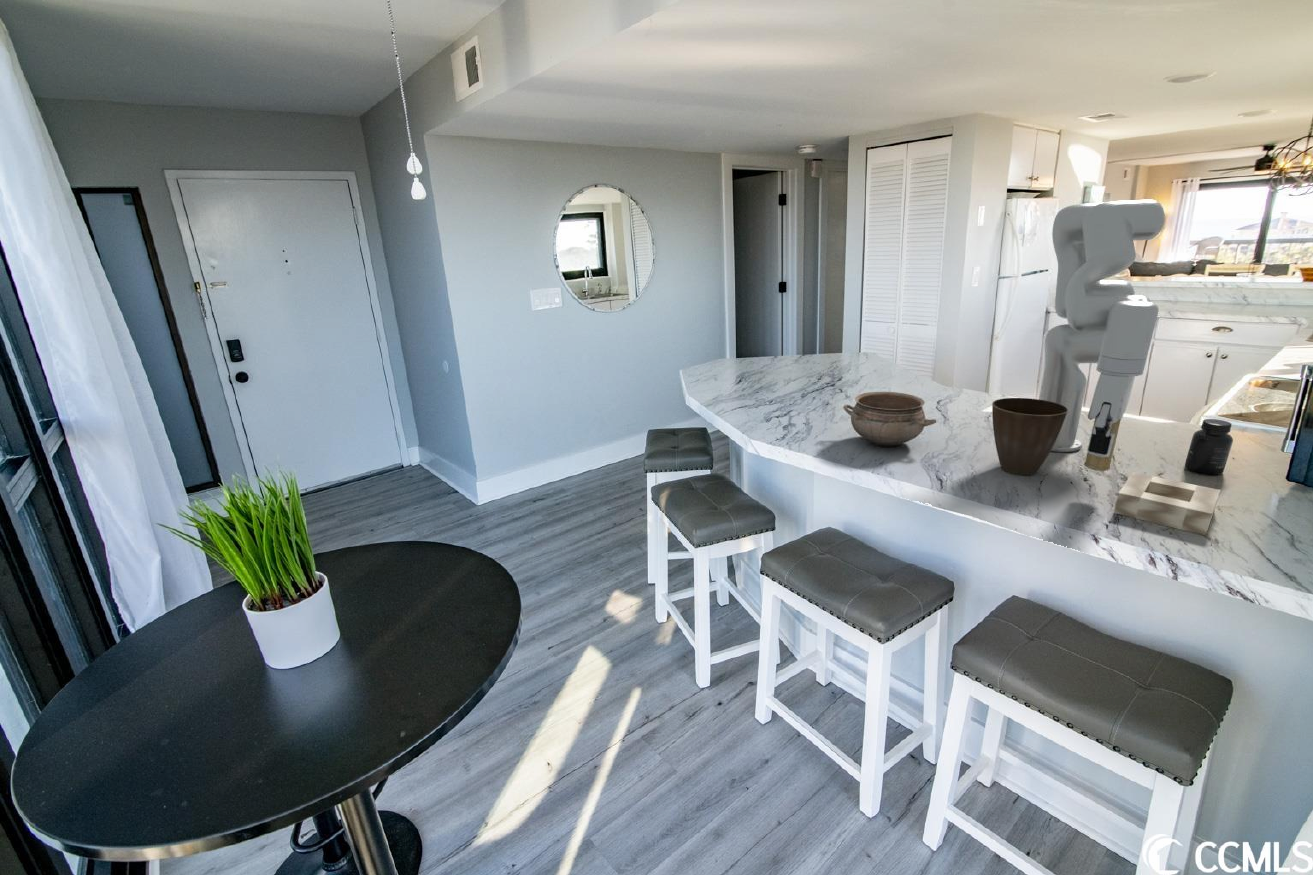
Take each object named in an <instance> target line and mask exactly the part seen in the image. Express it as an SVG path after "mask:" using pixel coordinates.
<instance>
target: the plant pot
mask: <svg viewBox="0 0 1313 875" xmlns="http://www.w3.org/2000/svg"><path fill="white" fill-rule="evenodd" d="M991 408H992V412H991V413H992V416H991V417H992V427H993V429H992V430H993V437H994V443H995V448H996V453H997V456H998V458H997V459H998V461H999V464H1000V468H1001V470H1003V471H1004V472H1006V473H1008V474H1012V475H1015V476H1033V475H1036V474H1037V473H1038V472H1039V470H1040V469H1041V467H1042V466H1043V464H1044V463H1045V461H1046V460H1047V458H1048V456H1049V454H1050V453H1051V452H1052V451H1051V449H1052V447H1053V445H1054V443H1055V441H1056V439H1057V437H1058V435H1059V433H1060V430H1061V428H1062V425H1063V423H1064V420H1065V417H1066V414H1067V412H1068V409H1067V408H1066V407H1065V406H1063V405H1060V404H1058V403H1054V402H1050V401H1045V400H1039V398H1038V399H1037V398H1028V397H1027V398H1026V397H1006V398H999V399H996V400H993V402H992V405H991Z"/></svg>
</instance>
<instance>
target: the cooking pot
mask: <svg viewBox="0 0 1313 875" xmlns="http://www.w3.org/2000/svg"><path fill="white" fill-rule="evenodd" d="M854 400H855V404H854V406H852V405H849V404H844V406H843V410H844V411H845V413H847V414H848V415H849V416H850V423H851V426H852V428H853V430H854V431H855V432H856V433H857V434H858V435H859V436H860V437H862V438H863V439H865V440H866V441H868V442H871V443H872V444H873V445H875V446H878V447H884V448H892V447H897V446H898V445H902V444H904V443H907V442H910V441H911V440H914V439H916V438H917V437H918V436H919V435H920V434H922V432H923V431H924V428H925V427H929V426H931V425H934V424H936V423H937V422H938V420H937V419H936V418H932V419H928V418H926V415H925V411H924V408H923V406H924V405H925V402H926V401H924V399H923V398H921V397H919V396H917V395H913V394H909V393H904V392H897V391H895V392H894V391H871V392H864V393H861V394H858V395H856V396H855V398H854Z"/></svg>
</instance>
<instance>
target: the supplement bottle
mask: <svg viewBox="0 0 1313 875" xmlns="http://www.w3.org/2000/svg"><path fill="white" fill-rule="evenodd" d="M1231 428H1232V423H1231V422H1229V421H1227V420H1223V419H1216V418H1205V419H1203V420H1202V423H1201V426H1200V429H1199V430H1197V431H1195V432H1193V434H1192V437H1191V442H1190V444H1189V448H1188V452H1187V455H1186V459H1185V462H1184V468H1185V469H1186V470H1187V471H1189V472H1191V473H1194V474H1196V475H1201V476H1202V475H1203V476H1207V477H1208V476H1209V477H1217V476H1221V475H1222V474H1223V473H1224V471H1225V468H1226V466H1227V465H1226V464H1227V461H1228V460H1229V455H1230V452H1231V449H1232V445H1233V443H1234V438H1233V437H1232V435H1230V434H1229V433H1230V432H1231Z"/></svg>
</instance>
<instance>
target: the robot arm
mask: <svg viewBox="0 0 1313 875" xmlns="http://www.w3.org/2000/svg"><path fill="white" fill-rule="evenodd" d="M1165 218H1166V216H1165V211H1164V207H1163V206H1162V204H1161V203H1160V202H1159V201H1158V200H1155V199H1138V200H1133V199H1132V200H1115V201H1114V200H1113V201H1105V202H1088V203H1087V202H1086V203H1078V204H1071V205H1068V206H1066V207H1063V208H1062V209H1060V210H1059V211H1058V212H1057V214H1056V215H1055V217H1054V220H1053V224H1052V233H1051V234H1052V244H1053V250H1054V252H1055V255H1056V260H1057V277H1056V288H1055V299H1054V301H1055V304H1054V306H1055V307H1054V309H1055V313H1056V314H1057V316H1058V317H1059V318H1062V319H1066V320H1067V324H1060V325H1056V326H1053V327H1052V328H1050V329H1049V330H1048V331H1047V333H1046V335H1045V338H1044V362H1043V363H1044V365H1043V373H1042V378H1041V379H1042V380H1041V386H1040V390H1039V397H1038V399H1039V400H1045V401H1050V402H1054V403H1058V404H1060V405H1063V406H1065V407H1066V408H1067V409H1068V412H1067V414H1066V417H1065V420H1064V423H1063V425H1062V428H1061V430H1060V433H1059V435H1058V437H1057V439H1056V441H1055V443H1054V445H1053V447H1052V449H1051V451H1050V452H1057V453H1058V452H1059V453H1071V452H1076V451H1080V449H1081V448H1082V445H1083V444H1082V442H1081V441H1080V440H1078V439H1076V438H1077V434H1078V428H1079V424H1080V423H1079V422H1080V418H1081V413H1082V408H1083V404H1084V398H1085V394H1086V388H1087V384H1088V383H1087V382H1088V381H1087V377H1086V375H1085V373H1084V372H1083V371H1082V370H1081V369H1080V367H1079V365H1080V364H1096V368H1095V369H1096V371H1097V372H1099V373H1100V374H1099V377H1098V379H1097V382H1096V386H1095V389H1094V392H1093V397H1092V399H1091V403H1090V407H1089V411H1088V415H1087V419H1088V420H1090V421H1091V420H1095V417H1096V416H1097V415H1098V416H1097V420H1096V423H1095V427H1094V431H1093V433H1092V432H1091V433H1092V436H1091V435H1090V437H1091V441H1090V440H1089V442H1090V445H1089V444H1088V446H1089V449H1088V448H1087V451H1088V450H1089V452H1094V453H1098V454H1103V455H1106V454H1107V453H1108V449H1109V445H1110V441H1111V436H1110V433H1111V430H1112V426H1113V423H1116V422H1117V421H1118V420H1119V419H1120V417H1121V415H1122V413H1123V412H1124V413H1123V415H1125V413H1126V410H1127V407H1128V404H1129V401H1130V397H1131V394H1132V389H1133V386H1134V381H1135V377H1139V376H1142V375H1144V370H1145V367H1146V364H1147V358H1148V355H1149V350H1150V347H1151V342H1152V339H1153V335H1154V331H1155V328H1156V327H1155V326H1156V323H1157V320H1158V316H1159V305H1157V304H1156V303H1154V302H1152V301H1151V299H1150V298H1149V297H1147V296H1146V295H1141V294H1140V295H1139V294H1136V292H1135V289H1134V286H1133V285H1132V283H1130V282H1128V281H1127V280H1121V279H1107V278H1110V277H1113V276H1116V275H1118V274H1121V273H1122V272H1124V271H1125V270H1127V269H1128V268H1130V267H1131V266H1132V265H1133V263H1134V262H1135V260H1136V258H1137V257H1136V255H1137V253H1136V249H1135V243H1134V241H1149V240H1152V239H1153V240H1154V239H1155V238H1157V236H1158V235H1159V234H1160V233H1161V231H1162V230H1163V227H1164V223H1165ZM1111 417H1112V418H1111ZM1107 418H1109V419H1111V421H1107ZM1106 424H1108V425H1109V426H1108V428H1107V426H1106Z"/></svg>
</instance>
